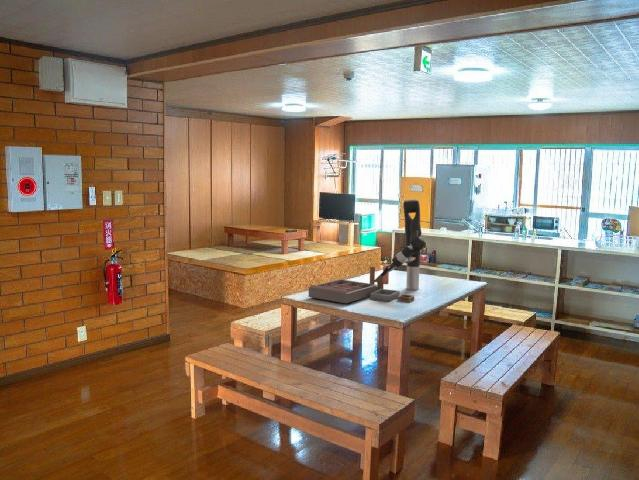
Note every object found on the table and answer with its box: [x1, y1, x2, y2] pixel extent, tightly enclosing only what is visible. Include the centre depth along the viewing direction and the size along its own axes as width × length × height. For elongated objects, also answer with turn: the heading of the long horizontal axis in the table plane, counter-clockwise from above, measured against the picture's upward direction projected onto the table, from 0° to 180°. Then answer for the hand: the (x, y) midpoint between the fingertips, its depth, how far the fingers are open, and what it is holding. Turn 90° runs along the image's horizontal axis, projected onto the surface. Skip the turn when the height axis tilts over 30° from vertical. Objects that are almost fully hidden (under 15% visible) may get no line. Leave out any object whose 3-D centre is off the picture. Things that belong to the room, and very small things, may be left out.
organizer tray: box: [307, 279, 377, 304], centre depth 367 cm, size 32×40×10 cm
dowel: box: [382, 264, 390, 285], centre depth 366 cm, size 4×4×13 cm
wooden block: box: [369, 265, 385, 291], centre depth 389 cm, size 4×11×18 cm, turn 54°
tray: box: [369, 288, 401, 303], centre depth 367 cm, size 20×14×4 cm
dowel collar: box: [397, 293, 415, 303], centre depth 360 cm, size 9×9×3 cm
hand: (383, 274), depth 367 cm, fingers closed on dowel, 4 cm apart
